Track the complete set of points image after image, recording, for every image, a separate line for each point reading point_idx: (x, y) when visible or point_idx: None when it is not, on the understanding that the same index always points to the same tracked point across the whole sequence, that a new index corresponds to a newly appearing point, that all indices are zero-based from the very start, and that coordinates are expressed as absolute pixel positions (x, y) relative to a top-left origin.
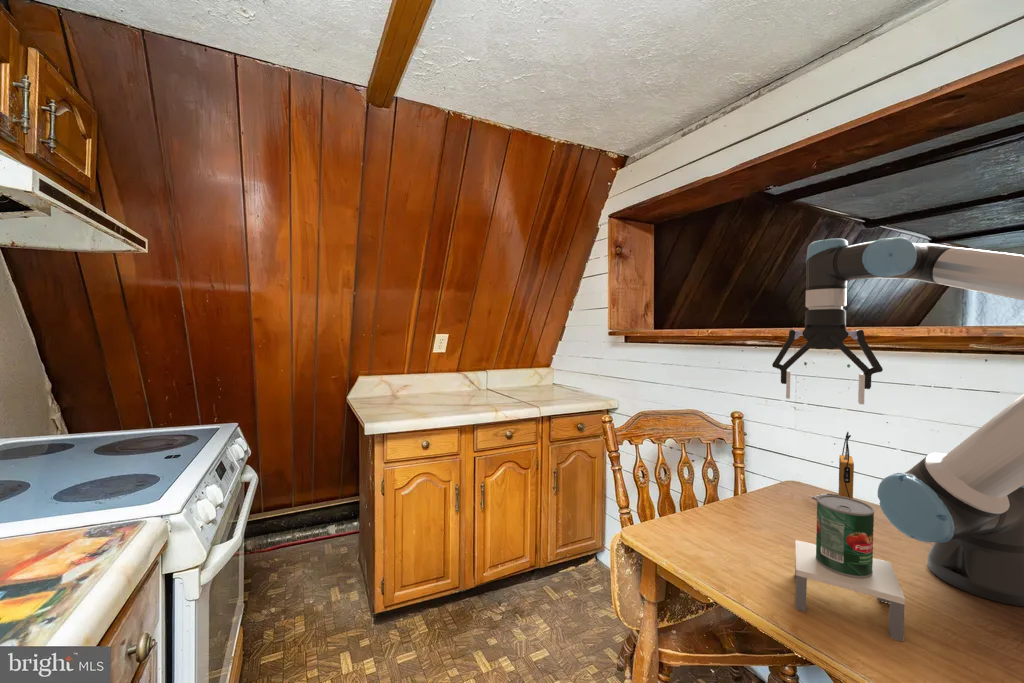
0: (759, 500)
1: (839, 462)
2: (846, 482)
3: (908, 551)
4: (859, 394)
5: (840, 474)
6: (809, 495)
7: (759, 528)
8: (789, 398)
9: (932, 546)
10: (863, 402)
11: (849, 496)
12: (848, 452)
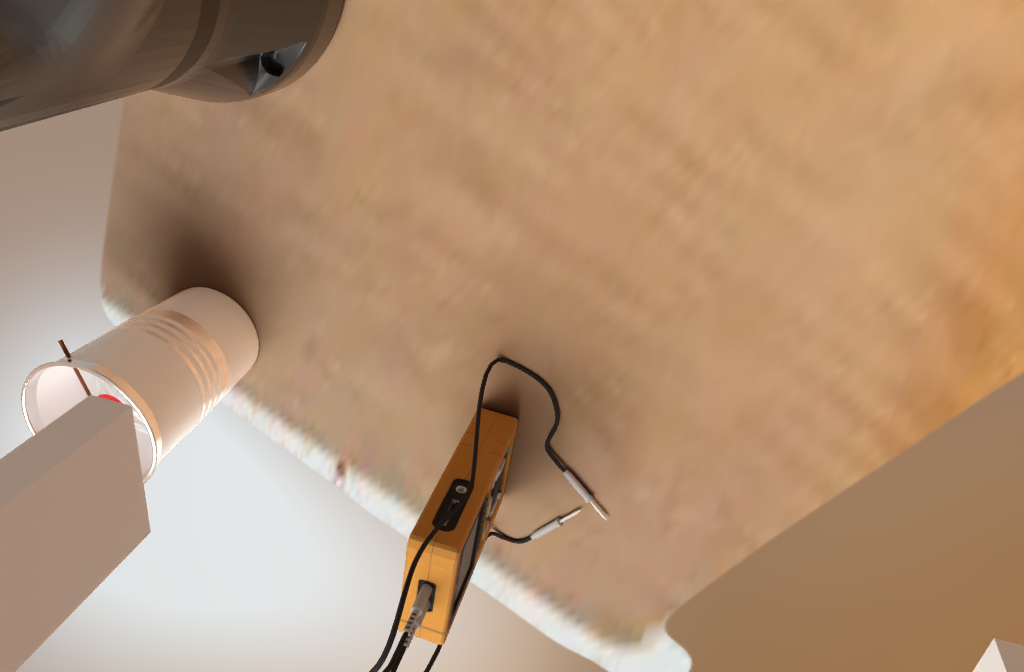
0: (834, 420)
1: (455, 612)
2: (465, 482)
3: (377, 106)
4: (42, 530)
5: (478, 509)
6: (600, 511)
7: (943, 86)
8: (998, 644)
9: (295, 4)
10: (77, 409)
11: (476, 416)
12: (412, 570)
